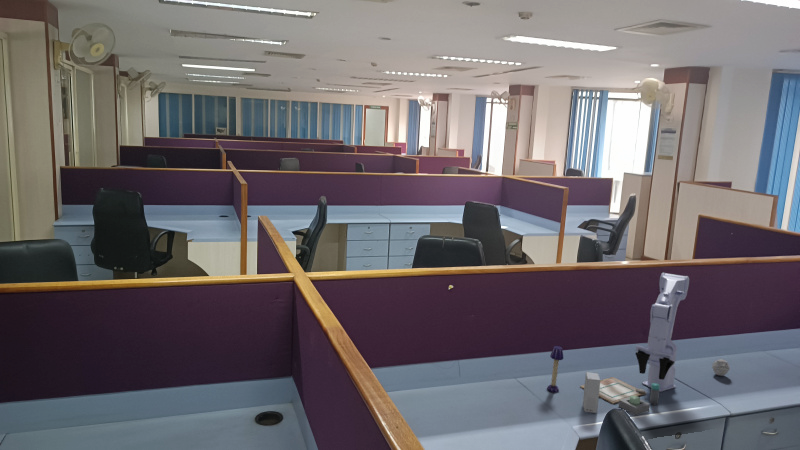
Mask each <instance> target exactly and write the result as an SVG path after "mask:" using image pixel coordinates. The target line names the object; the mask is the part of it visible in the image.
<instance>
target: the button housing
mask: <svg viewBox="0 0 800 450" xmlns="http://www.w3.org/2000/svg"><path fill="white" fill-rule="evenodd" d="M629 399H630V397H627V398H624V399H620V400H619V403H618V407H619V408H621V409H623V410H624V409H625V410H624V411H627V412H629V413H631V414H632V415H634V416H638V415H641V414H644V413H647V412H650V409H651V408H650V406H651V404H650V403H648V402H646V401H644V400H643V399H640V404H639V405H636V406H635V405H633V404H631V403H629Z"/></svg>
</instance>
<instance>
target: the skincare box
mask: <svg viewBox="0 0 800 450" xmlns="http://www.w3.org/2000/svg"><path fill="white" fill-rule="evenodd" d="M584 379H585V380H584V385H585V387H584V389H583V396H582V397H583V398H582V407H583V411H584V412H585V413H594V414H598V407H599V398H600V397H599V389H600V380H601V378H600V376H599V373H595V372H588V371H587V372H585V378H584Z"/></svg>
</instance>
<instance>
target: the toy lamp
mask: <svg viewBox="0 0 800 450" xmlns="http://www.w3.org/2000/svg"><path fill="white" fill-rule="evenodd" d="M550 358H551V359H552V360H553V365H552V373H551V382H550V384H549V385H547V388H546V390H547V392H549V393H553V394H555V393H559V391H560V389H559V387H558V386H557V383H556V382H557V377H558V373H559V371H558V370H559V362H560V361H562V360H564V352H563V348H562V347H561V346H558V345H555V346H554V347H553V348H552V350H551V353H550Z"/></svg>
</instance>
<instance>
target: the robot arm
mask: <svg viewBox="0 0 800 450" xmlns="http://www.w3.org/2000/svg"><path fill="white" fill-rule="evenodd" d="M689 277H690V276H688V275H680V274H673V273H666V272H662V273H661V274H660V276H659V283H658V284H659V285H658V286H659V292H660V293H659V294H658V296H657V299H656V301H655V303H653V304H651V308H650V320H649V323H650V326H649V332H648V338H647V339H648V340H647V346H646V347H645V346H642V345H636V344H635V350H634V351H636V352H635V356H636V359H637V362H638V368H639V369H638V370H639V374H646V371H647V370H646V369H647V364H649V366H648V375H647V380H646V381H643V382H641V383H642V385H644V386H647V387H648V388H651V385H652V383H656V384H659V385H660V389H659V393H661V392H665V391H668V390H671V389H674V388H676V385H675V384H674V383H675V377H676V368H675V364H676V360H677V352H678V347H677V345H676V343H674V342H673V341H672V335H673V331H674V330H673V329H674V325H675V321H676V320H675V319H676V315H677V311H678V306H679V305H680V302H681V301H684V300H686V297H687V295H688V291H689V286H690V278H689Z"/></svg>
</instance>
